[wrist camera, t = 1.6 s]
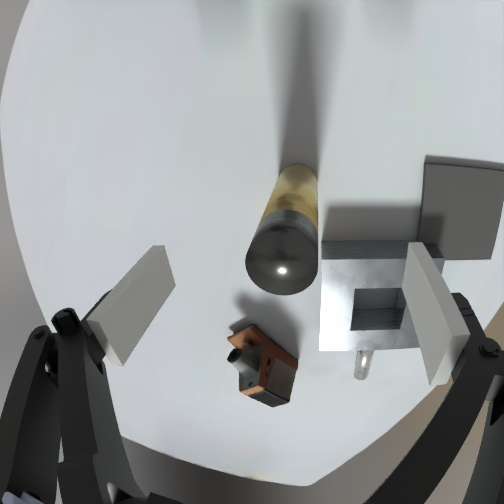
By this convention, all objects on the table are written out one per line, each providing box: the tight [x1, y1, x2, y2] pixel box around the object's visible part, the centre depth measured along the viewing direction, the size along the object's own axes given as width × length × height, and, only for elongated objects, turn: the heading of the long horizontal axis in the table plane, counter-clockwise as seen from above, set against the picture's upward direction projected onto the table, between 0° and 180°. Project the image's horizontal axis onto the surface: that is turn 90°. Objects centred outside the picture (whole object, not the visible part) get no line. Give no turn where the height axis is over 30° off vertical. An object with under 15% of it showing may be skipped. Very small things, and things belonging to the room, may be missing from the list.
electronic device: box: [227, 324, 298, 407], centre depth 35 cm, size 4×10×8 cm, turn 45°
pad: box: [417, 163, 504, 260], centre depth 24 cm, size 10×10×1 cm
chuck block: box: [319, 241, 445, 380], centre depth 31 cm, size 20×12×4 cm, turn 7°
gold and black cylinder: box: [245, 164, 318, 295], centre depth 21 cm, size 4×4×14 cm
